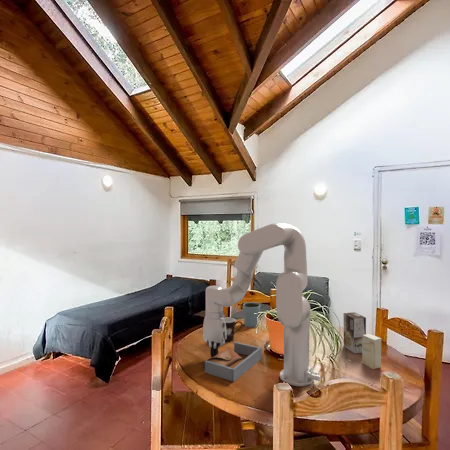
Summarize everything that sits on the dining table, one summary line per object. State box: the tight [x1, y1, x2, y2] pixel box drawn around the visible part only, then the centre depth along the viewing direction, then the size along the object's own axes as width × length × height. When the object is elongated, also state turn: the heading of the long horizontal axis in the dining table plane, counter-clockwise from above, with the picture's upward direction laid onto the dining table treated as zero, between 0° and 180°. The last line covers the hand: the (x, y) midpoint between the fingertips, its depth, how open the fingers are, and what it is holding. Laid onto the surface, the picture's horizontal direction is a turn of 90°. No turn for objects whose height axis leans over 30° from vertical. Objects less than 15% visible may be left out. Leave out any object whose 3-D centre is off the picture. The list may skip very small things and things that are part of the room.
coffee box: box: [343, 311, 367, 354], centre depth 145 cm, size 9×6×16 cm
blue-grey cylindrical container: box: [242, 301, 261, 328], centre depth 180 cm, size 10×10×12 cm
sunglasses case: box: [203, 347, 244, 369], centre depth 132 cm, size 18×7×7 cm
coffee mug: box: [223, 316, 243, 343], centre depth 158 cm, size 12×9×10 cm
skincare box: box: [361, 333, 382, 370], centre depth 129 cm, size 6×4×12 cm
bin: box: [204, 341, 263, 382], centre depth 129 cm, size 14×24×4 cm, turn 148°
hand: (214, 356), depth 135 cm, fingers closed
